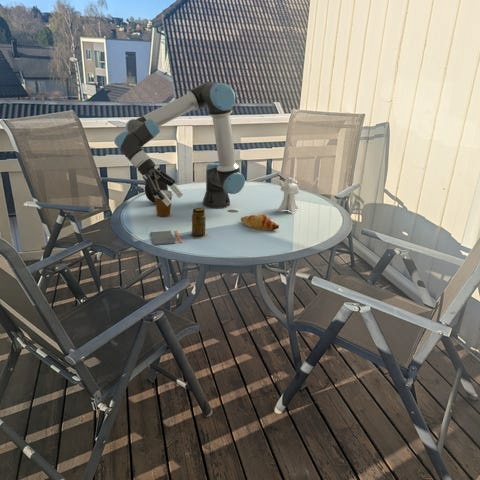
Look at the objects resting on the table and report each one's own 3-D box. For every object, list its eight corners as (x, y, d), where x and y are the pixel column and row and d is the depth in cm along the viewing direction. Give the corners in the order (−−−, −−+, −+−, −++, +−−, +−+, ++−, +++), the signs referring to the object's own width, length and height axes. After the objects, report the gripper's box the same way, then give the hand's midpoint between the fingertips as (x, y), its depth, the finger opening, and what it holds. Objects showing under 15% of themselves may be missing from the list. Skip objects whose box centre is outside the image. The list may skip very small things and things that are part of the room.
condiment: (203, 230, 192) (203, 206, 188) (209, 237, 185) (210, 211, 181) (188, 232, 189) (188, 207, 184) (194, 239, 182) (194, 213, 177)
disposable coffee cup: (169, 219, 205) (168, 195, 200) (151, 217, 206) (150, 194, 202) (175, 213, 213) (175, 190, 209) (158, 211, 215) (157, 189, 211)
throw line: (177, 231, 190) (177, 230, 190) (182, 242, 177) (182, 242, 177) (174, 231, 189) (174, 230, 189) (179, 243, 177) (179, 242, 177)
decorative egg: (172, 203, 228) (172, 177, 223) (153, 207, 220) (152, 180, 214) (159, 198, 236) (158, 172, 231) (141, 202, 228) (139, 175, 222)
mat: (170, 231, 189) (170, 230, 189) (175, 243, 177) (175, 242, 176) (150, 233, 186) (150, 232, 186) (154, 245, 174) (154, 243, 174)
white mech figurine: (285, 215, 217) (287, 182, 210) (273, 208, 228) (275, 176, 221) (304, 213, 222) (307, 180, 215) (291, 206, 233) (294, 174, 226)
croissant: (237, 230, 204) (233, 218, 199) (246, 216, 210) (243, 205, 204) (275, 239, 194) (272, 227, 188) (284, 224, 199) (281, 212, 194)
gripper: (150, 163, 194) (180, 197, 196) (124, 174, 171) (158, 213, 174) (160, 153, 191) (191, 188, 193) (135, 163, 168) (170, 202, 171)
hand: (175, 200), depth 184 cm, fingers open, 13 cm apart
